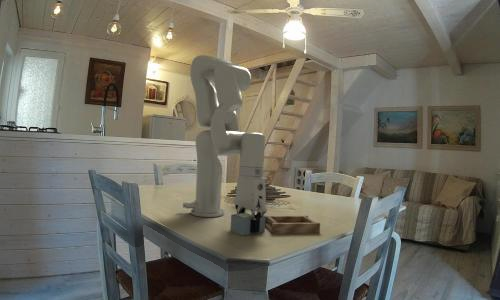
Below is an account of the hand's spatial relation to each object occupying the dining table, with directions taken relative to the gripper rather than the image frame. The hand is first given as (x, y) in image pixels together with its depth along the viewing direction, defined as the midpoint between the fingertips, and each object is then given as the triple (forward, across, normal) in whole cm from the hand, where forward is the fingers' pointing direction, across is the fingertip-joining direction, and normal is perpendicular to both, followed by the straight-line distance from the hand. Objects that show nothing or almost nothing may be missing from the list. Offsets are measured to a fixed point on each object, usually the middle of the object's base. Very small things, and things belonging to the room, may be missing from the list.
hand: (247, 228), depth 92 cm
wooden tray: (+1, -5, -14) cm, 15 cm away
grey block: (+1, 0, 0) cm, 1 cm away
